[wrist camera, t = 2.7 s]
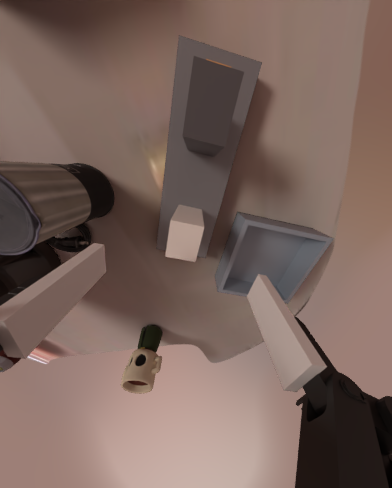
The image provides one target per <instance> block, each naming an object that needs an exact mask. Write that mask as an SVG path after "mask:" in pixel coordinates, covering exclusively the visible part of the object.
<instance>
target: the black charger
mask: <svg viewBox="0 0 392 488" xmlns="http://www.w3.org/2000/svg"><path fill="white" fill-rule="evenodd" d="M243 75H244V72H243V71H240V70H237V69H234V68H231V67H228V66H224V65H221V64H218V63H215V62H212V61H209V60H206V59H203V58H199V57H196V56H194V58H193V65H192V72H191V79H190V86H189V93H188V100H187V107H186V114H185V121H184V128H183V135H182V136H183V139H184V142H185V144H186V147H187V149H188V150H189V151H193V152H197V153H201V154H205V155H209V156H213V157H215V156H216V155H217V154H218V153H219V152H220V151H221V150H222V149H223V148H225V145H226V141H227V137H228V133H229V129H230V125H231V122H232V118H233V114H234V110H235V106H236V102H237V98H238V94H239V90H240V87H241V83H242V79H243Z"/></svg>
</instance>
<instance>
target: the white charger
mask: <svg viewBox="0 0 392 488" xmlns="http://www.w3.org/2000/svg"><path fill="white" fill-rule="evenodd" d="M203 231H204V221H203V214H202V209H197V208H193V207H188V206H184V205H178V207H177V209H176V211H175V213H174V214H173V216H172V218H171V220H170V227H169V234H168V241H167V248H166V255H165V257H170V258H176V259H181V260H187V261H192V262H196V258H197V254H198V250H199V246H200V242H201V238H202V234H203Z"/></svg>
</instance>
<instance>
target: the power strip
mask: <svg viewBox="0 0 392 488" xmlns="http://www.w3.org/2000/svg"><path fill="white" fill-rule="evenodd" d="M194 56H196V57H199V58H203V59H206V60H209V61H212V62H215V63H218V64H221V65H224V66H228V67H231V68H234V69H237V70H240V71H243V72H244V75H243V79H242V83H241V87H240V90H239V94H238V98H237V102H236V106H235V110H234V114H233V118H232V122H231V125H230V129H229V133H228V137H227V141H226V145H225V148H223V149H222V150H221V151H220V152H219V153H218V154H217V155H216V156H215V157H213V156H209V155H205V154H201V153H197V152H193V151H189V150H188V149H187V147H186V144H185V142H184V139H183V136H182V135H183V128H184V121H185V114H186V107H187V100H188V93H189V86H190V79H191V72H192V65H193V58H194ZM261 65H262V62H259V61H256V60H253V59H250V58H247V57H244V56H241V55H238V54H235V53H231V52H228V51H225V50H222V49H219V48H216V47H213V46H210V45H207V44H204V43H201V42H198V41H195V40H192V39H189V38H186V37H183V36H180V35H179V41H178V50H177V59H176V69H175V78H174V87H173V97H172V106H171V116H170V125H169V134H168V144H167V153H166V163H165V172H164V181H163V191H162V200H161V209H160V219H159V228H158V238H157V247H156V249H159V250H164V251H166V248H167V241H168V234H169V227H170V220H171V218H172V216H173V214H174V213H175V211H176V209H177V207H178V205H184V206H188V207H193V208H197V209H202V214H203V221H204V231H203V234H202V238H201V242H200V246H199V250H198V254H197V257H202V258H206V254H207V251H208V248H209V244H210V241H211V237H212V234H213V230H214V227H215V223H216V220H217V216H218V213H219V210H220V206H221V203H222V199H223V196H224V192H225V189H226V185H227V182H228V179H229V175H230V172H231V168H232V165H233V161H234V158H235V154H236V151H237V147H238V144H239V141H240V137H241V134H242V130H243V127H244V123H245V120H246V116H247V113H248V109H249V106H250V103H251V99H252V96H253V92H254V89H255V85H256V82H257V78H258V75H259V72H260V68H261Z"/></svg>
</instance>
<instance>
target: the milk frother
mask: <svg viewBox="0 0 392 488" xmlns="http://www.w3.org/2000/svg"><path fill="white" fill-rule="evenodd" d="M113 204H114V193H113V190H112V187H111V185H110V183H109V181H108V180H107V179H106V178H105V176H104V175H103V174H102V173H101V172H99V171H98V170H97V169H95V168H93V167H91V166H89V165H86V164H81V163H74V164H68V165H61V164H44V163H27V162H7V161H0V254H1V255H19V254H23V253H26V252H28V251H29V250H31V249H32V248H33V247H34V246H35V245H36V244H38V243H40V242H42V241H46V242H47V243H48V244H50V245H51V246H53V247H55V248H57V249H60V250H63V251H67V252H79V251H83V250H84V249H86V248H87V247H88V246H89V245H90V243H91V235H90V232H89V230H88V228H87V227H86V226H85V225H84V224H82V223H84V222H86V221H88V220H91V219H93V218H97V217H102V216H104V215H106V214H108V213H109V212H110V211H111V209H112V207H113ZM73 227H76V228H78V229H79V230H80V231H81V232H82V234H83V236H84V240H83V241H81V236H78V237H71V238H68V237H65V238H55V237H54V236H55V235H57V234H60V233H62V232H64V231H66V230H69V229H71V228H73ZM67 245H68V246H67Z"/></svg>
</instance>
